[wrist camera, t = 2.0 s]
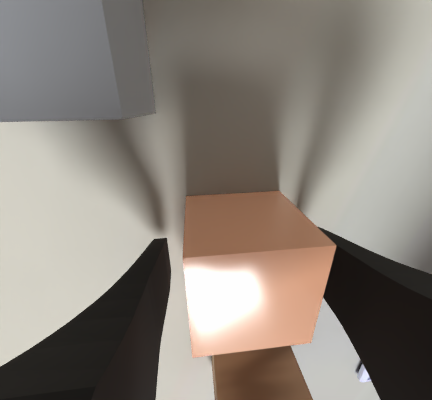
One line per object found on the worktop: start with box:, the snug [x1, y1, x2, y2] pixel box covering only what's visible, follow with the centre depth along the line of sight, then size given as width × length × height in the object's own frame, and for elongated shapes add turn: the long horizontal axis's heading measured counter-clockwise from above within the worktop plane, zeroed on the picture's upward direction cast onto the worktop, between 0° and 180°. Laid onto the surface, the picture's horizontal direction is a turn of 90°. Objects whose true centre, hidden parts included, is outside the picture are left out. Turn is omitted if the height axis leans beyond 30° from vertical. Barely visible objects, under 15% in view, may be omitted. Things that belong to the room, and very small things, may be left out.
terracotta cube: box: [183, 191, 337, 358], centre depth 10 cm, size 5×5×5 cm
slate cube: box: [0, 0, 156, 122], centre depth 6 cm, size 5×5×5 cm
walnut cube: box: [212, 346, 313, 400], centre depth 14 cm, size 5×5×5 cm
